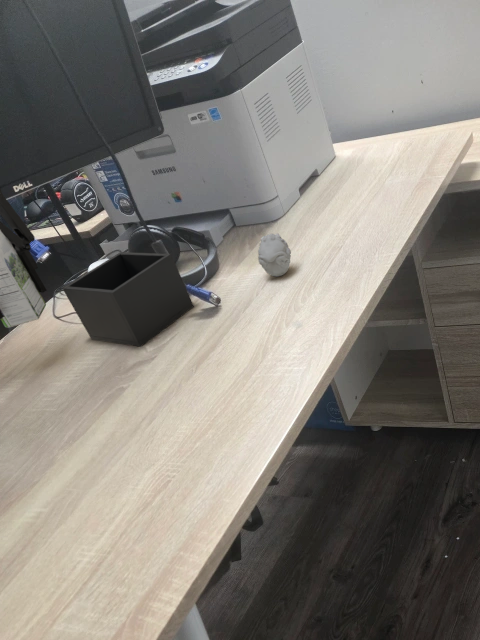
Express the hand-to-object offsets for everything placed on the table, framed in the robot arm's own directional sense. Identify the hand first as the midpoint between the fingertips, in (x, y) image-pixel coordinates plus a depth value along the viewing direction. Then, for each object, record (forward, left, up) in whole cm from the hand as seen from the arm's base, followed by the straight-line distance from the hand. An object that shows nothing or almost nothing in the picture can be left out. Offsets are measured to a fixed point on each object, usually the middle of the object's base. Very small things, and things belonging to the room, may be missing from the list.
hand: (19, 303), depth 106 cm
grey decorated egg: (+25, +34, -11) cm, 44 cm away
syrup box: (0, 0, -3) cm, 3 cm away
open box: (+8, +14, -11) cm, 20 cm away
